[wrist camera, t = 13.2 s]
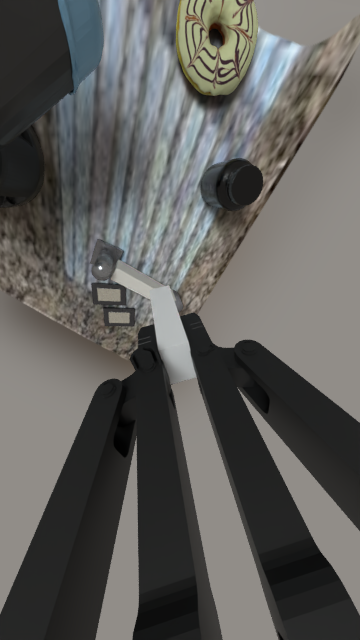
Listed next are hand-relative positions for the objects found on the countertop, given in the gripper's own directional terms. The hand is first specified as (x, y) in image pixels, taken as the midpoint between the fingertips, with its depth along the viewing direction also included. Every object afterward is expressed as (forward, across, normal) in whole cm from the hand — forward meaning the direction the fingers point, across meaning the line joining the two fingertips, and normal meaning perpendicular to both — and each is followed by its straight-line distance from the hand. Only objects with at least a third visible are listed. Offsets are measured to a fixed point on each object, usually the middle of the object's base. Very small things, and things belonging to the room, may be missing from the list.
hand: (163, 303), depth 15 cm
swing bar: (+27, -2, -10) cm, 29 cm away
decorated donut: (+30, +16, +21) cm, 40 cm away
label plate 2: (+29, -12, -17) cm, 36 cm away
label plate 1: (+29, -12, -11) cm, 34 cm away
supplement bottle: (+30, +15, +4) cm, 34 cm away
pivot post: (+29, -9, -3) cm, 31 cm away
